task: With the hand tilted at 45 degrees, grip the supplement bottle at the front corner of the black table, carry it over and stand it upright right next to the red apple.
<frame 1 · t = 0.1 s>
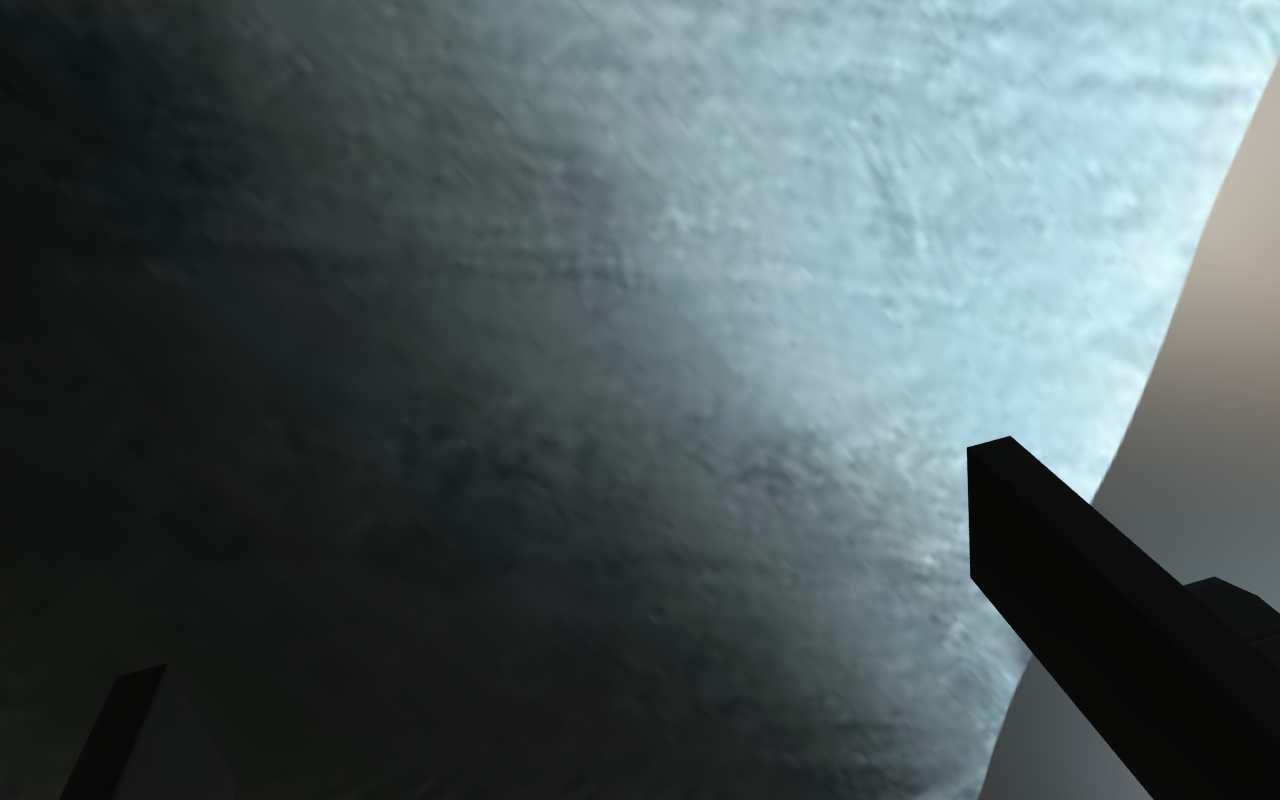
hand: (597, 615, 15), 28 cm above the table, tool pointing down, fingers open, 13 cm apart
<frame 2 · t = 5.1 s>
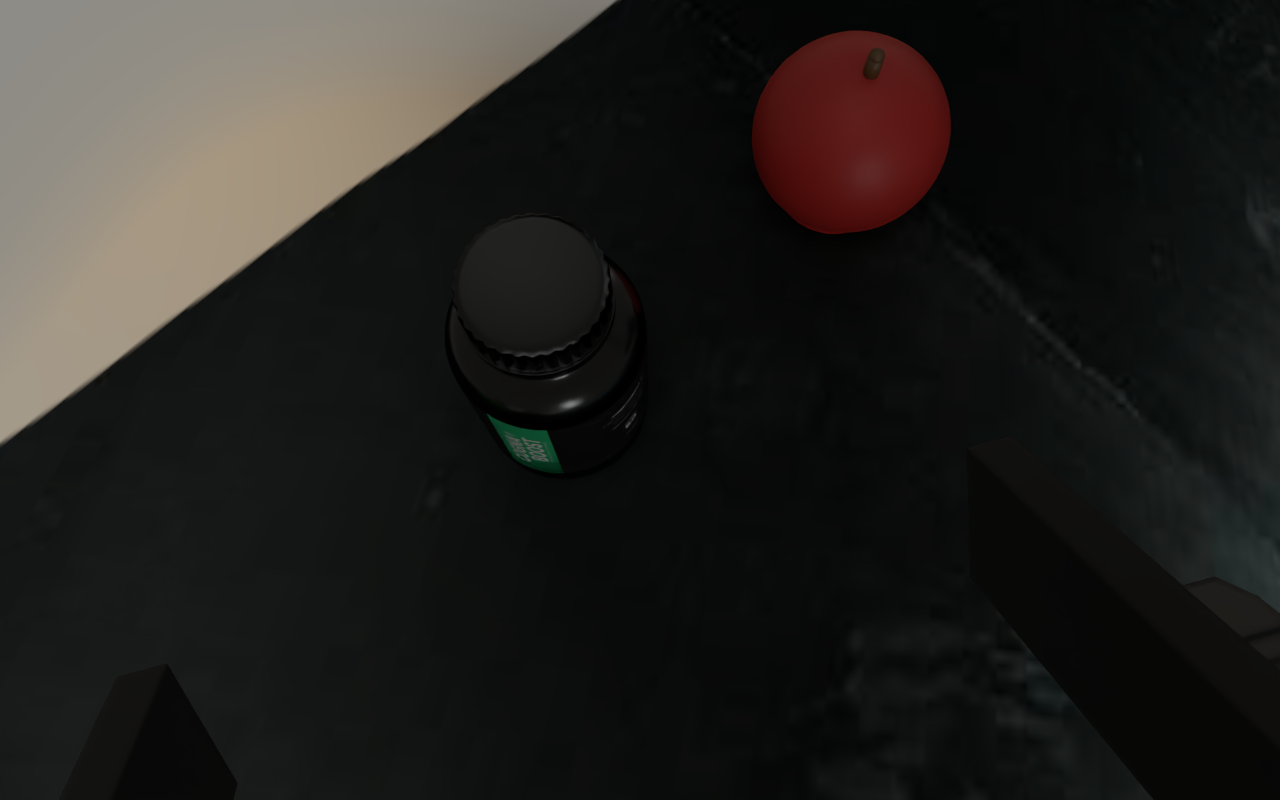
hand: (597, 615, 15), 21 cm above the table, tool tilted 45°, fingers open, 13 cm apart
apple: (830, 185, 41), on the table
supplement bottle: (567, 404, 39), on the table
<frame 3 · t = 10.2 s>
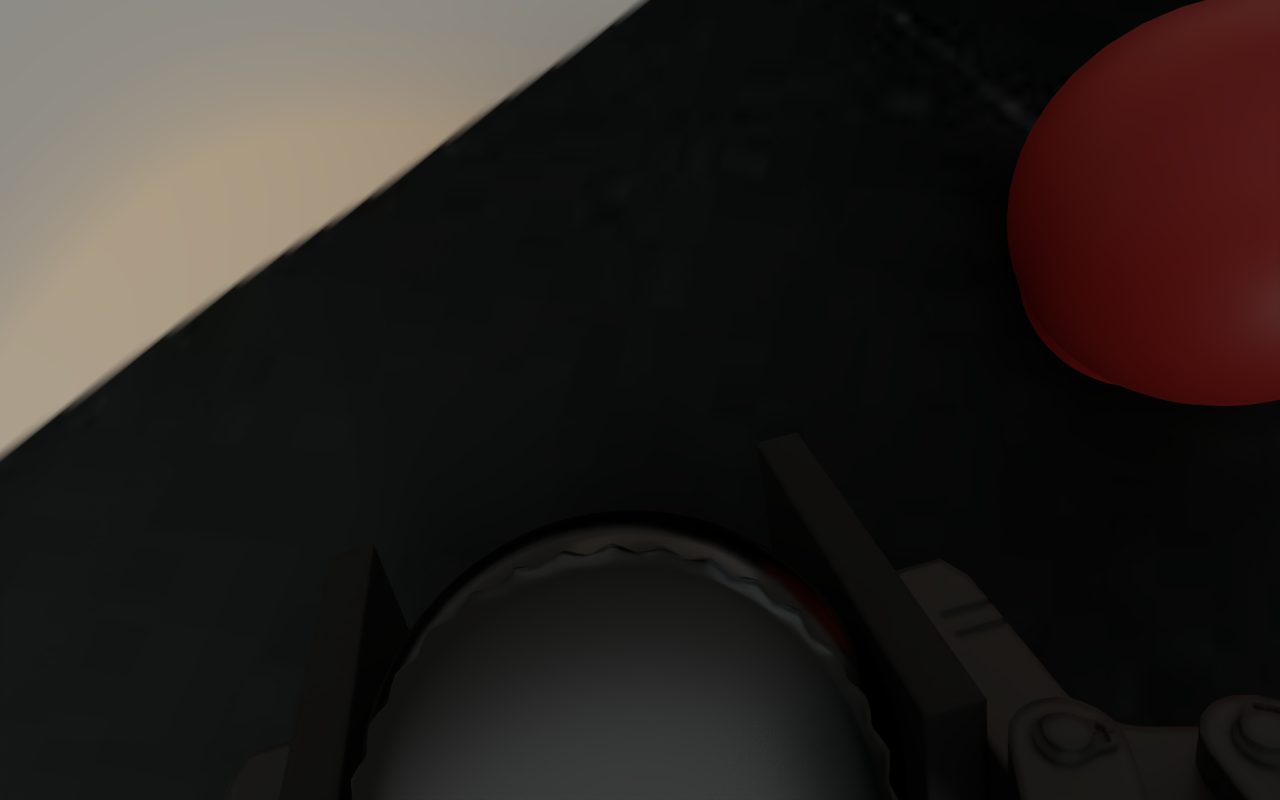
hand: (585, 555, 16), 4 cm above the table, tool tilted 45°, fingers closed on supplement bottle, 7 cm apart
apple: (1121, 291, 22), on the table
supplement bottle: (637, 744, 19), on the table, touching gripper
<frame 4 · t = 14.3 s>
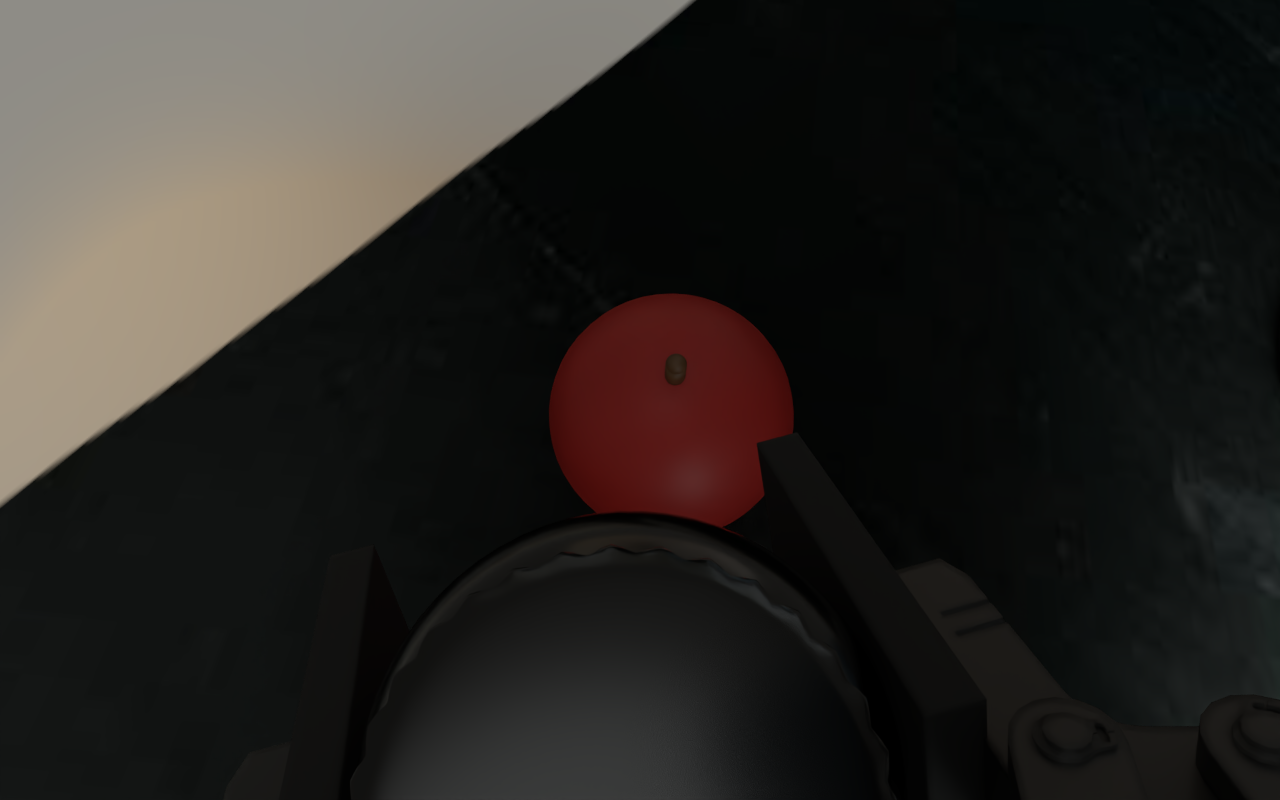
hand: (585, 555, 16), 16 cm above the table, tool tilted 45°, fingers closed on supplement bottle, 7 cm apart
apple: (667, 447, 34), on the table
supplement bottle: (637, 744, 19), point 12 cm above the table, touching gripper
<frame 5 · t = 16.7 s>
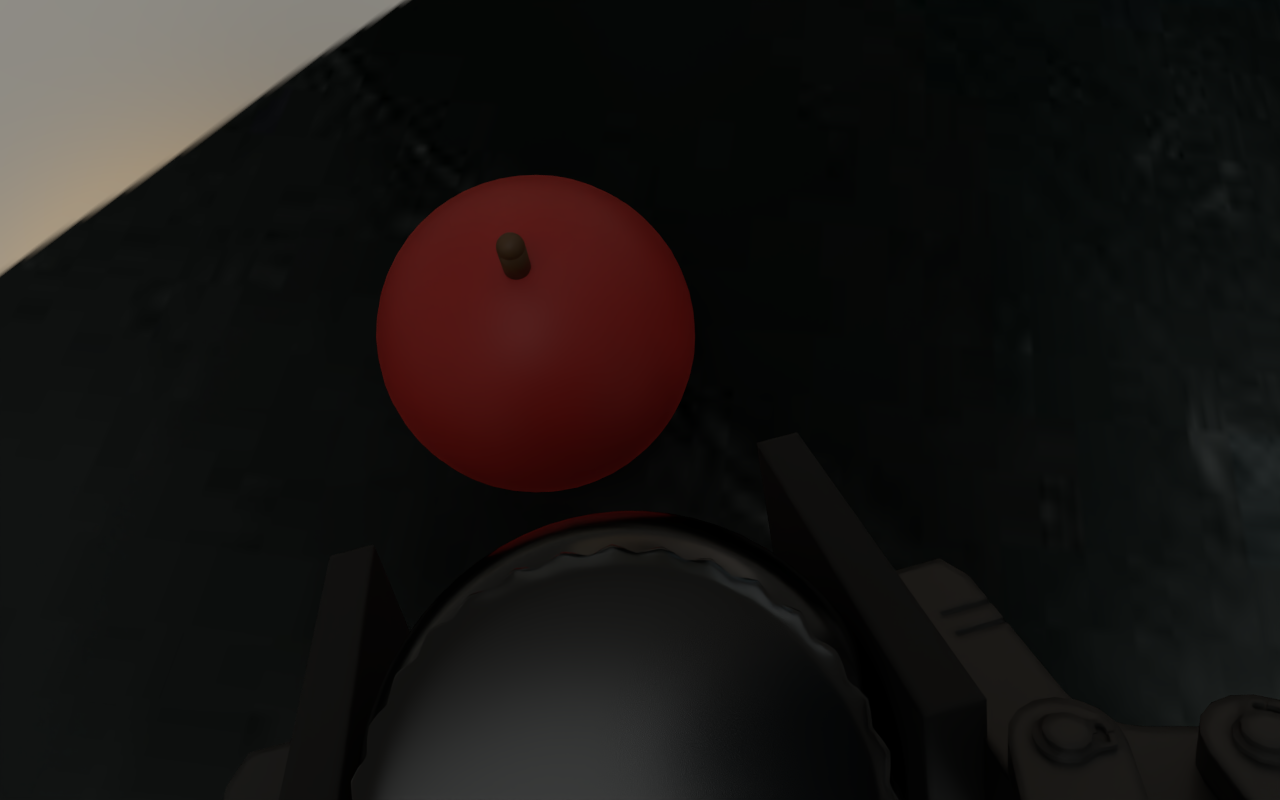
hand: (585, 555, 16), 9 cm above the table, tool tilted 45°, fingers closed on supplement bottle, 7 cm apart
apple: (554, 385, 27), on the table
supplement bottle: (638, 744, 19), point 5 cm above the table, touching gripper
when the fingers open (4 cm above the table, at t = 18.6 s): supplement bottle stays where it is, on the table.
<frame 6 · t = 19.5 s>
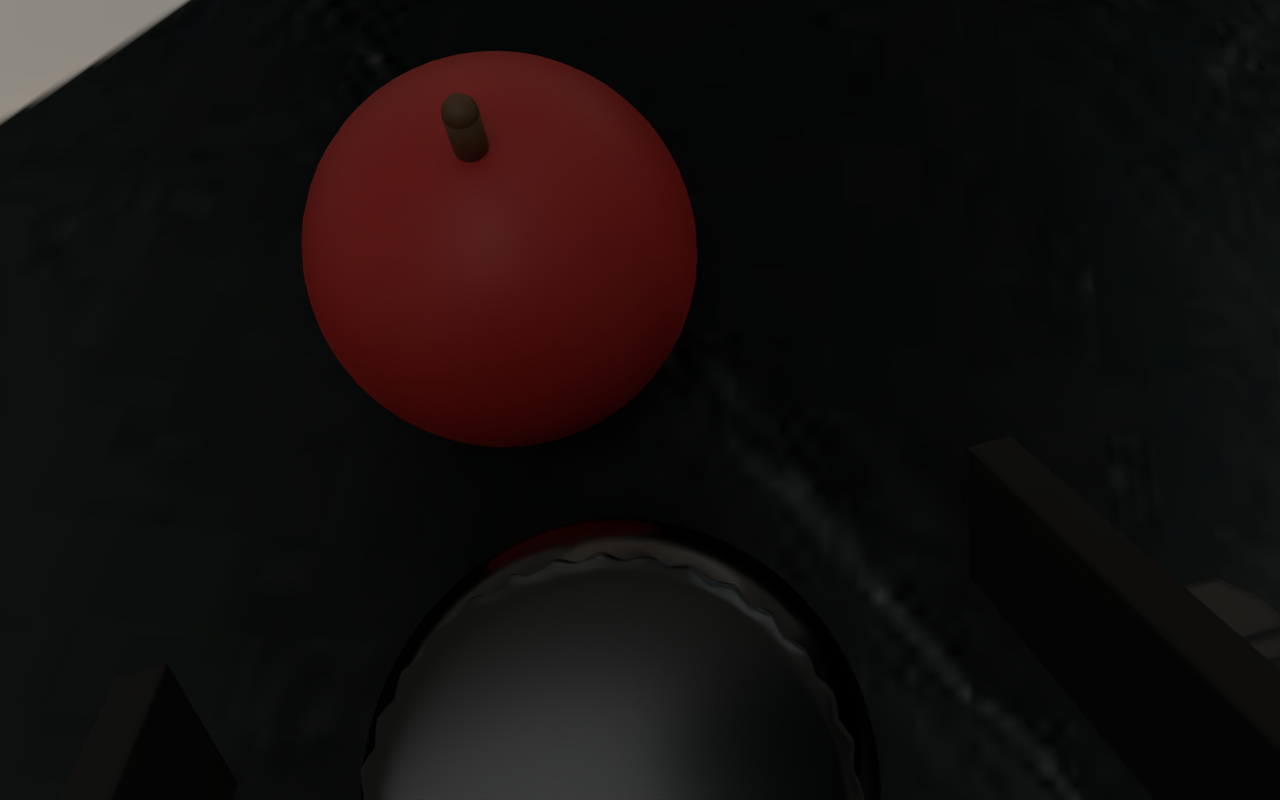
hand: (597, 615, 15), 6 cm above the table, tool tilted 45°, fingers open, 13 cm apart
apple: (529, 329, 23), on the table
supplement bottle: (630, 742, 20), on the table
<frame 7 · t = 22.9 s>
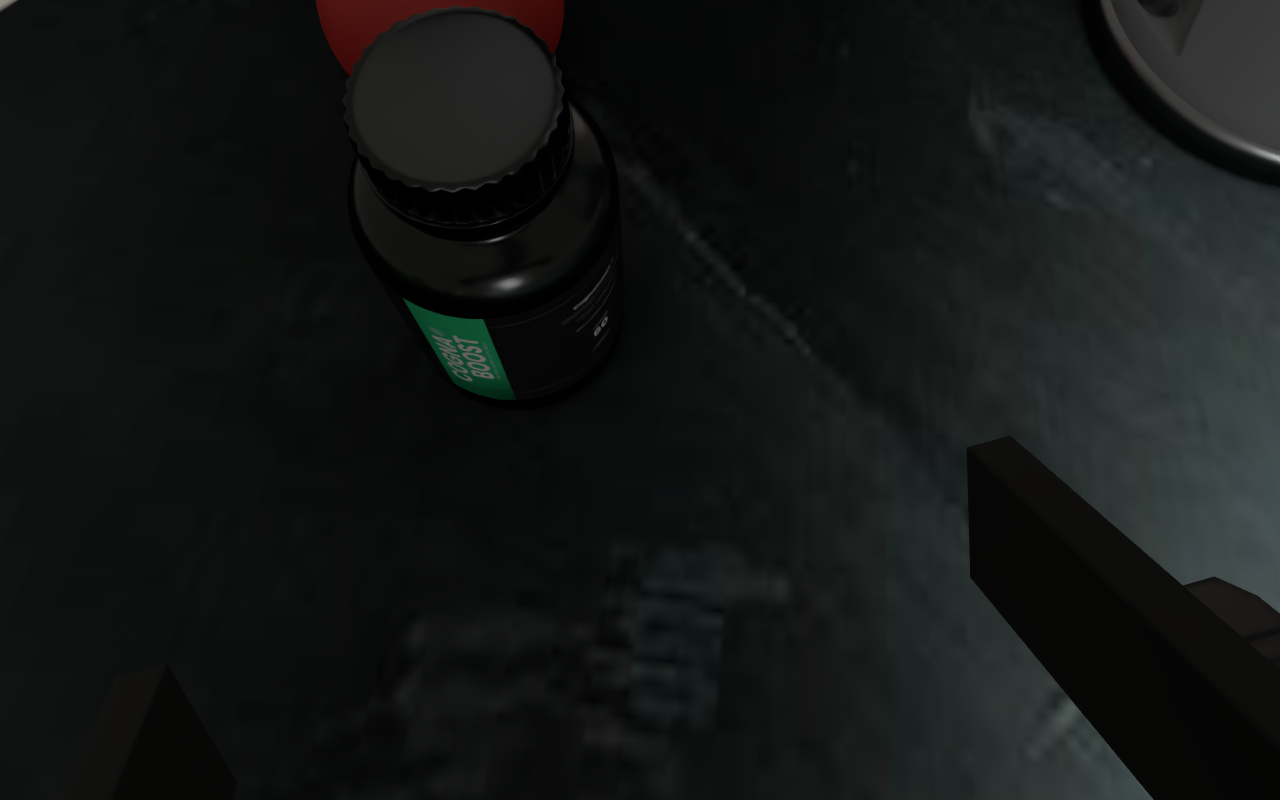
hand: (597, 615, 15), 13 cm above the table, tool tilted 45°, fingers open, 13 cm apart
apple: (465, 77, 34), on the table
supplement bottle: (524, 321, 31), on the table
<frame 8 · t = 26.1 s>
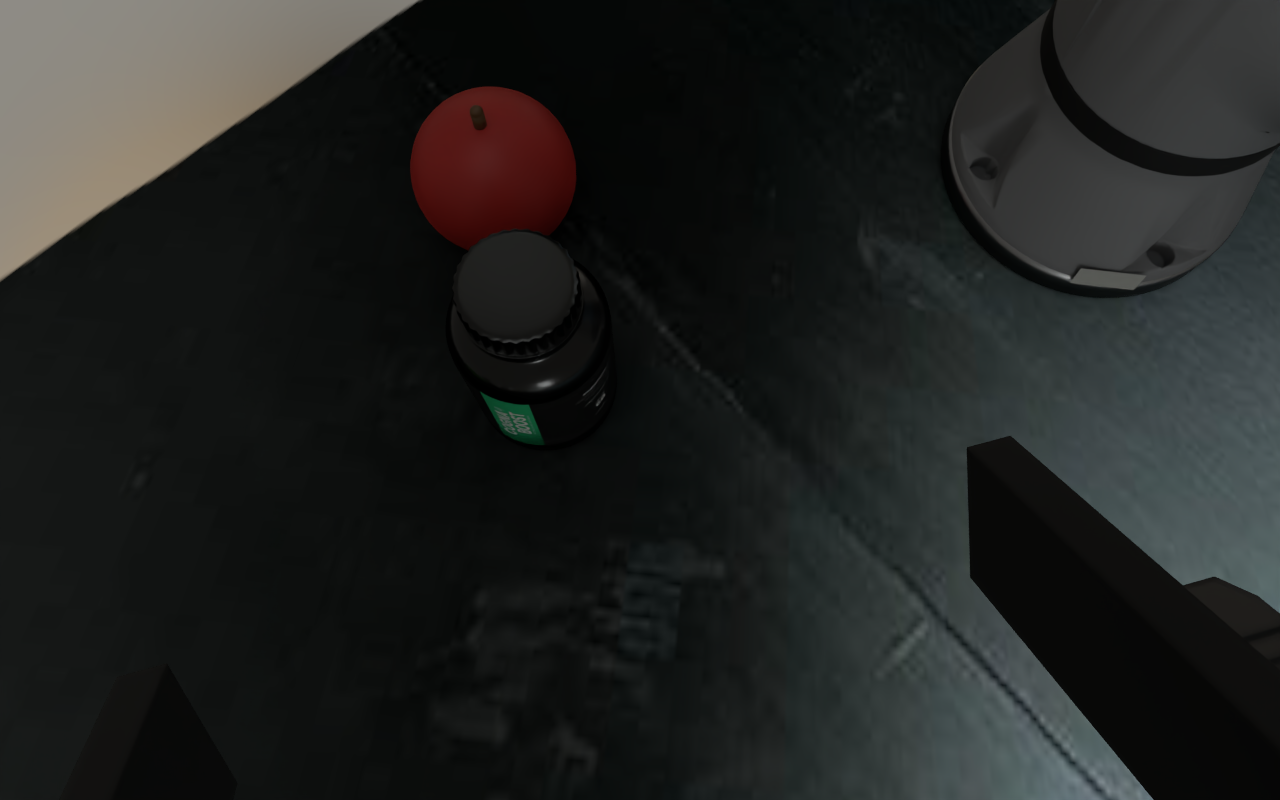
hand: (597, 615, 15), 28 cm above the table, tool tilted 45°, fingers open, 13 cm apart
apple: (506, 213, 48), on the table
supplement bottle: (549, 388, 45), on the table
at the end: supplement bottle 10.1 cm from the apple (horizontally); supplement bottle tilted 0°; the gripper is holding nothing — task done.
